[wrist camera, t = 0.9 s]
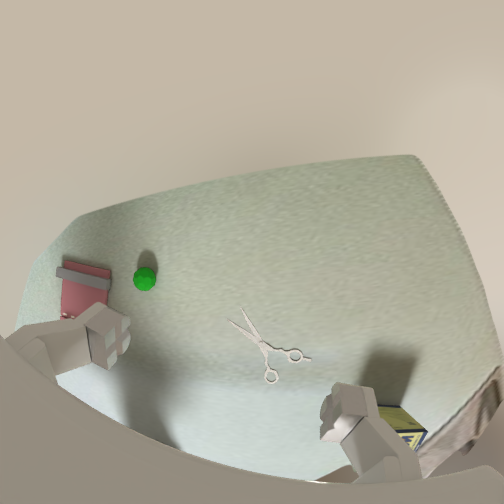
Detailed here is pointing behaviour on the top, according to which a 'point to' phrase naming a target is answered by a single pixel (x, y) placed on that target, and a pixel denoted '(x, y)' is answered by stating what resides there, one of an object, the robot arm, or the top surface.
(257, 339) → the scissors
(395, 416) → the protein box
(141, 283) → the polyhedron
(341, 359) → the top surface
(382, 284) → the top surface
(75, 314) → the ticket
